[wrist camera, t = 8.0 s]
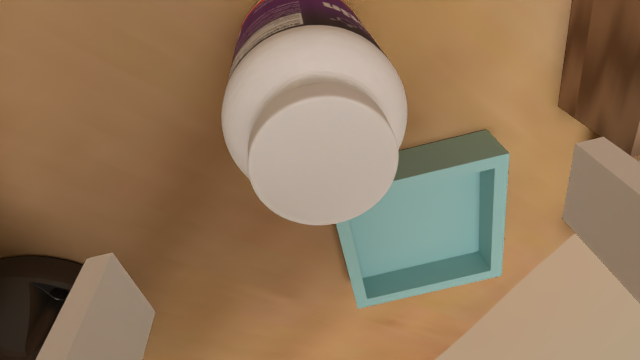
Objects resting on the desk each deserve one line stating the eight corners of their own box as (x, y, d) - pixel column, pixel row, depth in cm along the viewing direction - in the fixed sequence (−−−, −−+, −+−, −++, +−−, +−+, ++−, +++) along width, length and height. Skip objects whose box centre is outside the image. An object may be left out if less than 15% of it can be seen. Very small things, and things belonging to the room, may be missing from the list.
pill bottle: (381, 67, 28) (466, 191, 16) (282, 126, 30) (294, 277, 18) (321, -49, 24) (377, 5, 12) (210, 28, 25) (161, 142, 13)
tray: (350, 278, 39) (357, 308, 36) (322, 169, 32) (328, 196, 29) (483, 247, 39) (501, 275, 36) (486, 129, 32) (509, 153, 29)
